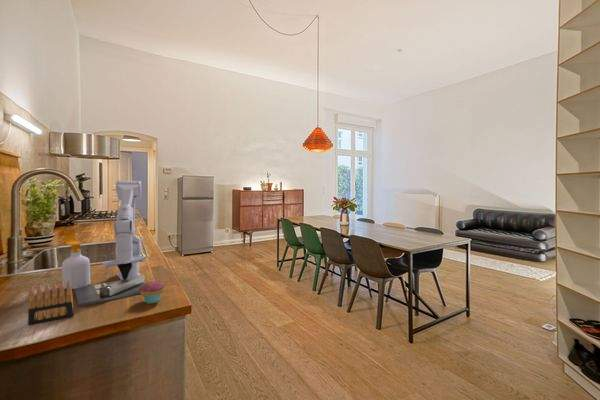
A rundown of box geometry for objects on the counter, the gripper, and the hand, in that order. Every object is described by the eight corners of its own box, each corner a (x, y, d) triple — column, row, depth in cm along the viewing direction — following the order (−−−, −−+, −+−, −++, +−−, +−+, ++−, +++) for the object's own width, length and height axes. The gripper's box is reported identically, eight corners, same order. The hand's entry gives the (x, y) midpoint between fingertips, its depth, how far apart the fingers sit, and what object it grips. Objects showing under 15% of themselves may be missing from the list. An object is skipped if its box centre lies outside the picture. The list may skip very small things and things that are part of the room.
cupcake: (136, 306, 100) (135, 273, 99) (142, 297, 108) (142, 266, 107) (163, 304, 102) (162, 271, 101) (167, 295, 110) (167, 264, 109)
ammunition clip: (73, 314, 93) (72, 278, 92) (73, 317, 91) (72, 280, 91) (29, 323, 87) (27, 285, 86) (27, 326, 85) (26, 287, 85)
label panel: (74, 291, 112) (74, 287, 112) (137, 279, 126) (137, 276, 126) (78, 307, 98) (78, 302, 98) (148, 291, 113) (148, 288, 113)
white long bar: (137, 280, 121) (137, 273, 120) (144, 281, 119) (144, 274, 119) (96, 296, 103) (96, 288, 103) (105, 298, 102) (104, 290, 102)
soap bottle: (75, 290, 112) (73, 229, 111) (56, 288, 114) (54, 228, 113) (95, 283, 121) (94, 225, 120) (78, 281, 123) (76, 224, 121)
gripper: (104, 253, 108) (105, 288, 109) (146, 248, 117) (147, 280, 118) (101, 250, 113) (102, 283, 114) (142, 245, 123) (142, 276, 124)
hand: (125, 281), depth 117 cm, fingers closed
